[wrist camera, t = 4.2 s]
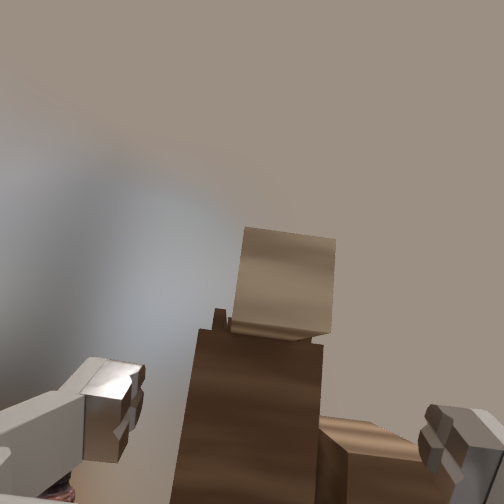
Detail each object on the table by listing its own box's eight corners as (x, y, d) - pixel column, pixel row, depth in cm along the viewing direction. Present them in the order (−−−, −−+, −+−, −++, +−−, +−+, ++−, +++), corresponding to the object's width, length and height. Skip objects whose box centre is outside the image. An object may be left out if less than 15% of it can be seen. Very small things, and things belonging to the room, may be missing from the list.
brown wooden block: (285, 1000, 14) (325, 307, 22) (88, 984, 13) (205, 291, 22) (256, 670, 28) (287, 325, 36) (161, 660, 28) (214, 316, 36)
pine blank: (330, 333, 13) (335, 239, 15) (231, 319, 13) (244, 226, 14) (268, 345, 34) (272, 307, 36) (230, 340, 34) (235, 302, 36)
